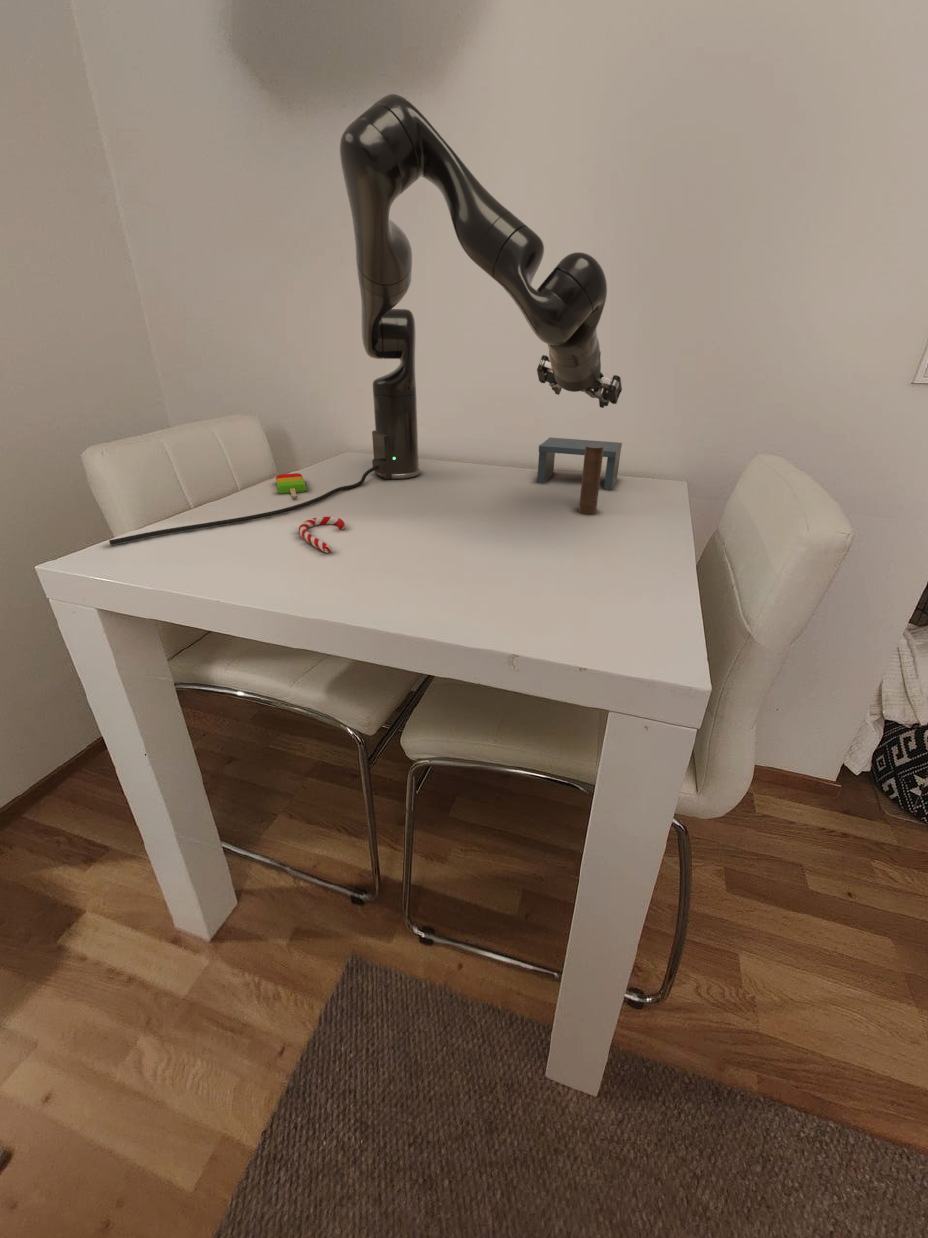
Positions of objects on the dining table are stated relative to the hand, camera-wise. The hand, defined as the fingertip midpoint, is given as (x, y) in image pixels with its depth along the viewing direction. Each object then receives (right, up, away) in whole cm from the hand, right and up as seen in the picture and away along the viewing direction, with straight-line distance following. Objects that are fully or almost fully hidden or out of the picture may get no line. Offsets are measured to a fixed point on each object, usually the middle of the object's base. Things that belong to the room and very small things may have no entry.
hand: (581, 395), depth 103 cm
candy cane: (-44, -27, -10) cm, 53 cm away
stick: (+2, -21, +3) cm, 21 cm away
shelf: (+4, -10, +22) cm, 25 cm away
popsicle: (-57, -14, +14) cm, 60 cm away
